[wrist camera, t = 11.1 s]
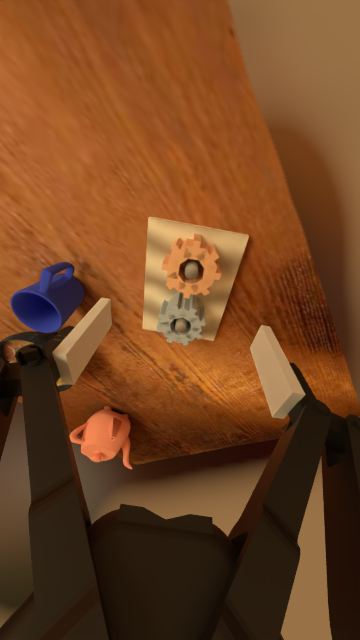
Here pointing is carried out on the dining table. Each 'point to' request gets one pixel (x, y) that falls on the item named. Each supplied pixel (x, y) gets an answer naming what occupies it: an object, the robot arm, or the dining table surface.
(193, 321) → the gear
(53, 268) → the mug
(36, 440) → the robot arm
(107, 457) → the teapot
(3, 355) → the bowl
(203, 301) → the board
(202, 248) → the gear
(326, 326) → the dining table surface
